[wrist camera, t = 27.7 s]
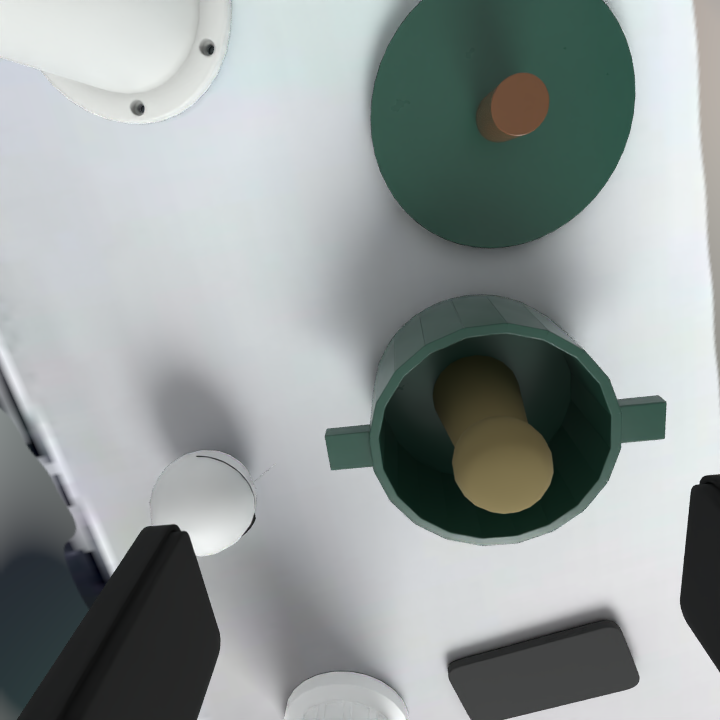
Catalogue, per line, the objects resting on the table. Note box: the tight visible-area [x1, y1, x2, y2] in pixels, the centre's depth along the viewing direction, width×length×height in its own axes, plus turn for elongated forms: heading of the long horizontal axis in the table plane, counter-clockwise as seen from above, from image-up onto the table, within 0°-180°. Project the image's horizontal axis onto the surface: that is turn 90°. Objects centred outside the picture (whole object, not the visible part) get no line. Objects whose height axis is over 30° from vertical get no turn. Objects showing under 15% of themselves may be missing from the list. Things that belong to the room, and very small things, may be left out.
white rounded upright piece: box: [150, 450, 276, 556], centre depth 37 cm, size 10×7×7 cm
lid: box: [371, 0, 635, 248], centre depth 28 cm, size 15×15×6 cm
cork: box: [433, 355, 553, 514], centre depth 31 cm, size 6×6×11 cm
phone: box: [448, 621, 639, 720], centre depth 44 cm, size 7×1×15 cm
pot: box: [325, 295, 666, 546], centre depth 33 cm, size 14×20×8 cm
